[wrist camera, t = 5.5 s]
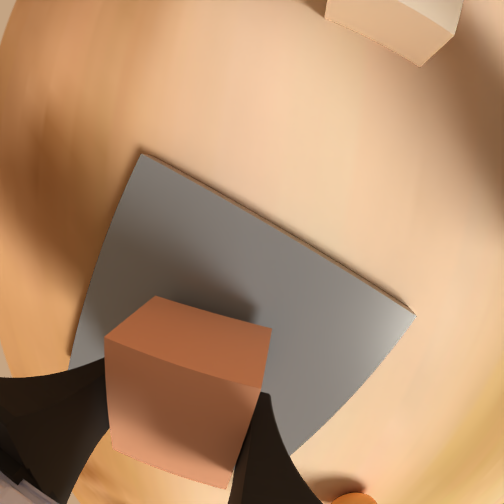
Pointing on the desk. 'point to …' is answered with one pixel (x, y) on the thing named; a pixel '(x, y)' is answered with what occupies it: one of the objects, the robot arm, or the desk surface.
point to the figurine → (354, 499)
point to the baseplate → (242, 292)
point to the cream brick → (400, 23)
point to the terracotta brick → (183, 388)
